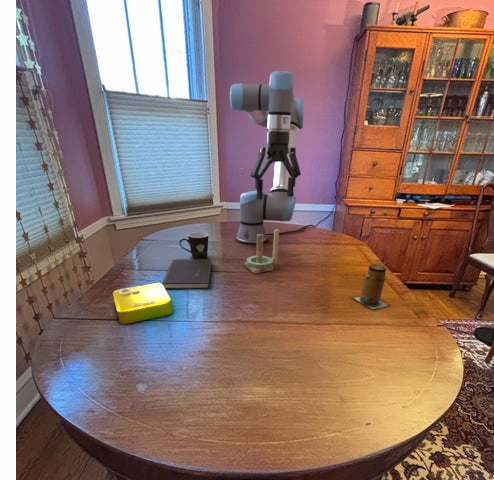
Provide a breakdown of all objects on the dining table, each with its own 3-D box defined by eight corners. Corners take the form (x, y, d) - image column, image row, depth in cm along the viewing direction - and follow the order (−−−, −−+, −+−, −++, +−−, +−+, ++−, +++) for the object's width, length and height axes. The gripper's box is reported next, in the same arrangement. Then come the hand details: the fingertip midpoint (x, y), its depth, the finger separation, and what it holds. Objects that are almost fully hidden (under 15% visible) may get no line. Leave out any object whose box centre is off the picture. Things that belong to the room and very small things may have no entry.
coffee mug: (211, 254, 133) (210, 232, 128) (207, 261, 125) (205, 238, 120) (186, 253, 134) (184, 231, 128) (180, 260, 126) (177, 236, 121)
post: (263, 262, 126) (264, 230, 119) (274, 269, 120) (276, 236, 113) (244, 265, 123) (244, 233, 116) (254, 273, 116) (255, 239, 109)
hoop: (254, 270, 114) (255, 237, 108) (242, 261, 122) (242, 230, 115) (283, 265, 120) (286, 233, 113) (270, 257, 128) (272, 226, 121)
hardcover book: (211, 264, 123) (211, 259, 122) (208, 288, 103) (208, 282, 102) (172, 264, 122) (171, 259, 120) (162, 289, 102) (161, 283, 101)
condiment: (369, 294, 103) (378, 261, 96) (388, 305, 96) (398, 271, 90) (353, 298, 100) (360, 264, 94) (371, 310, 93) (381, 274, 87)
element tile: (120, 325, 82) (116, 311, 80) (114, 302, 93) (111, 288, 91) (174, 314, 88) (172, 300, 86) (163, 293, 99) (161, 280, 97)
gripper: (251, 130, 92) (250, 201, 104) (314, 131, 103) (307, 196, 114) (240, 129, 98) (241, 198, 109) (301, 131, 109) (296, 193, 120)
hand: (275, 197), depth 112 cm, fingers open, 13 cm apart
